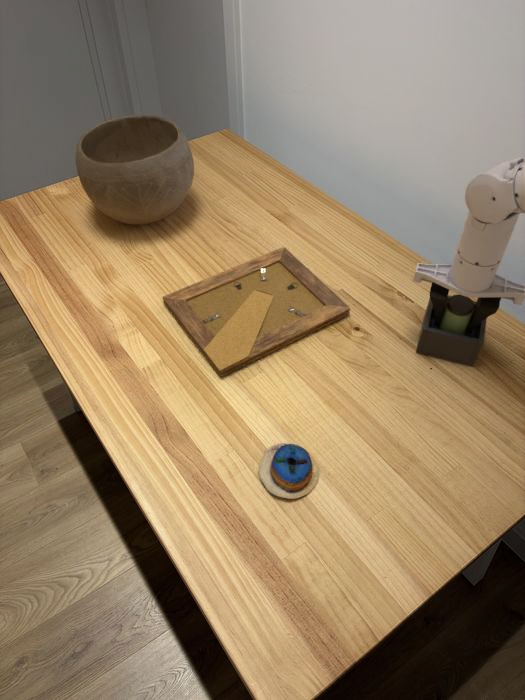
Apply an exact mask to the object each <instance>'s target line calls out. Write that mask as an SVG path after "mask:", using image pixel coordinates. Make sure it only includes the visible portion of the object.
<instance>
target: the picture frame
mask: <svg viewBox="0 0 525 700" xmlns="http://www.w3.org/2000/svg"><path fill="white" fill-rule="evenodd" d="M162 300H163V301H162V302H163V305H164V306H165V307H166V308H167V310H168V311H169V312H170V314H171V315H172V316H173V318H174V319H175V320H176V321H177V322H178V324H179V325H180V327H181V328H182V329H183V331H184V332H185V333H186V334H187V336H188V337H189V339H190V340H191V341H192V342H193V343H194V345H195V346H196V348H197V349H198V350H199V351H200V353H201V354H202V356H203V357H204V358H205V359H206V360H207V362H208V363H209V365H210V366H211V367H212V368H213V370H214V372H216V374H217V375H218V376H219V377H220V378H222V377H225V376H227V375H228V374H230V373H233V372H235V371H237V370H239V369H241V368H243V367H245V366H247V365H249V364H251V363H253V362H255V361H257V360H259V359H261V358H263V357H265V356H267V355H270V354H271V353H273V352H276V351H277V350H280V349H282V348H283V347H286V346H287V345H290V344H292V343H294V342H296V341H298V340H300V339H301V338H304V337H305V336H308V335H310V334H312V333H314V332H316V331H318V330H320V329H322V328H324V327H326V326H329V325H330V324H332V323H335V322H336V321H338V320H341V319H344V317H347V316H348V315H349V316H350V313H351V307H350V306H349V305H348V304H347V303H346V302H344V300H343V299H341V298H340V296H339V295H337V294H336V293H335V292H334V291H333V290H332V289H331V288H330V287H328V286H327V284H325V283H324V282H323V281H322V280H321V279H320V278H319V277H317V276H316V274H315V273H313V272H312V271H311V270H310V269H309V268H308V267H307V266H306V265H304V263H303V262H301V260H299V259H298V258H297V257H296V256H295V255H294V254H293V253H291V252H290V251H289V250H288V249H287V248H286V247H285V246H282V247H279V248H278V249H274V250H272V251H270V252H267V253H265V254H263V255H261V256H257V257H255V258H253V259H251V260H248V261H246V262H244V263H240V264H239V265H235V266H234V267H232V268H229V269H226V270H223V271H221V272H219V273H217V274H214V275H212V276H209V277H207V278H205V279H202V280H200V281H197V282H196V283H193V284H190V285H188V286H185V287H183V288H181V289H178V290H175V291H173V292H170V293H168V294H165V295H163V296H162Z"/></svg>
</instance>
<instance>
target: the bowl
mask: <svg viewBox="0 0 525 700" xmlns="http://www.w3.org/2000/svg"><path fill="white" fill-rule="evenodd" d="M75 166H76V172H77V175H78V179H79V182H80V184H81V187H82V189H83V190H84V193H85V194H86V195H87V197H88V199H89V200H90V201H91V203H92V204H93V205H94V206H95V207H96V209H98V210H99V211H100V212H101V213H102V214H104V215H105V216H107V217H109V218H110V219H112V220H114V221H117V222H119V223H122V224H126V225H137V226H138V225H149V224H152V223H155V222H158V221H161V220H163V219H165V218H167V217H169V216H170V215H171V214H173V213H174V212H175V211H176V210H177V209H178V208H179V207H181V205H182V204H183V203H184V201H185V200H186V198H187V196H188V194H189V192H190V190H191V188H192V186H193V185H192V184H193V181H194V176H195V162H194V156H193V152H192V150H191V146H190V143H189V142H188V139H187V137H186V135H185V134H184V131H183V130H182V129H181V128H180V127H179V126H178V124H177V123H176V122H174V121H173V120H171V119H168V118H165V117H162V116H160V115H159V116H158V115H151V114H148V115H147V114H136V115H135V114H133V115H132V114H131V115H126V116H117V117H114V118H111V119H108V120H105V121H102V122H100V123H98V124H95V125H94V126H92V127H90V128H89V129H88V130H86V132H84V133H83V134H82V135H81V136H80V138H79V139H78V141H77V144H76V150H75Z"/></svg>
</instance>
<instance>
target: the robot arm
mask: <svg viewBox="0 0 525 700" xmlns="http://www.w3.org/2000/svg"><path fill="white" fill-rule="evenodd" d="M464 200H465V204H466V207H467V210H468V213H467V215H466V219H465V222H464V225H463V228H462V231H461V234H460V236H459V241H458V244H457V246H456V249H455V253H454V257H453V259H452V263H449V264H447V263H445V264H444V263H443V264H442V263H438V264H437V263H436V264H435V263H433V264H431V263H421V262H417V264H416V268H415V271H414V275H413V280H412V283H413V282H414V283H417V284H421V283H422V282H426V283H430V284H431V286H430V290H429V298H430V300H431V302H432V304H433V308H434V313H435V323H434V326H437V327H439V325H440V321H441V316H442V312H443V309H444V307H445V304H446V302H447V297H448V295H449V293H450V292H453V293H455V294H456V295H462V296H466V297H469V298H472V299H473V298H474V299H475V298H477V299H476V305H475V307H474V312H473V315H472V317H471V320H470V322H469V325H468V327H467V330H466V333H467V334H471V333H472V331H473V330H474V329H475V328H476V327H477V325H479V324H480V323H481V322H482V321H483V320H484V319H486V318H489V317H490V316H492V315H494V314H496V313H497V312H498V310H499V309H500V304H501V300H502V299H506V300H510V301H512V303H513V304H514V305H518V306H522V304H523V302H524V300H525V284H521V283H518V282H515V281H513V280H510V279H508V278H506V277H503V276H501V275H500V274H499V275H498V274H497V272H498V270H499V267H500V264H501V262H502V260H503V257H504V255H505V252H506V249H507V247H508V245H509V242H510V240H511V237H512V235H513V232H514V230H515V227H516V225H517V222H518V219H519V217H520V214H525V158H524V157H522V156H521V157H517V158H515V159H510V160H506V161H504V162H502V163H500V164H498V165H496V166H494V167H491V168H490V169H488V170H486V171H484V172H482V173H480V174H478V175H476V177H474V178H473V179H471V181H470V182H468V184H467V186H466V188H465V193H464Z"/></svg>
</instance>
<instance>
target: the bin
mask: <svg viewBox="0 0 525 700" xmlns="http://www.w3.org/2000/svg"><path fill="white" fill-rule="evenodd" d="M451 296H452V295H449V294H448V297H447V301H448V299H449V298H450V297H451ZM472 301H473V303H474V307H475V305H476V302H477V300H472ZM443 310H444V309H443ZM442 313H443V312H442ZM487 318H488V317H487ZM487 318H486V319H484V320H483V321H482V322H481V323H480V324H479V325H477V327H476V328H475V329H474V330H473V331H472V333H471V334H467V333H465V335H460V334H456V333H451V332H447V331H443V330H439V329H437V328H438V327H437V326H434V323H435V313H434V308H433V304H432V302H431V300H430V297H429V299H428V302H427V305H426V308H425V312H424V315H423V320H422V323H421V328H420V331H419V337H418V340H417V345H416V350H415V354H416V353H417V354H420V355H425V356H429V357H433V358H436V359H440V360H445V361H447V362H453V363H457V364H460V365H464V366H469V367H474V366H475V365H476V362H477V359H478V358H479V356H480V352H481V350H482V349H483V346H484V343H485V336H486V335H485V334H486V327H487V321H488V319H487Z"/></svg>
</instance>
